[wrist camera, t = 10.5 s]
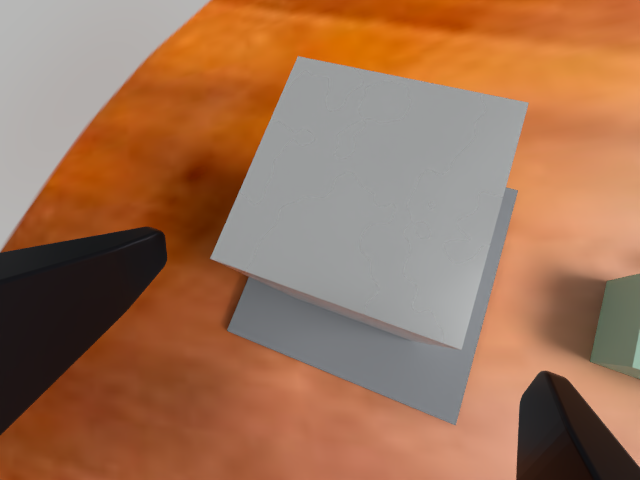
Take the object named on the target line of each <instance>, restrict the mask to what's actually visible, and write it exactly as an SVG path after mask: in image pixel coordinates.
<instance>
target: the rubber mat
mask: <svg viewBox="0 0 640 480" xmlns="http://www.w3.org/2000/svg"><path fill="white" fill-rule="evenodd" d="M517 192H518V190H514V189H510V188H505V192H504V196H503V199H502V203H501V207H500V210H499V214H498V218H497V221H496V225H495V229H494V232H493V236H492V240H491V243H490V247H489V251H488V254H487V258H486V262H485V266H484V269H483V273H482V277H481V280H480V284H479V288H478V291H477V295H476V299H475V302H474V306H473V310H472V313H471V317H470V321H469V325H468V328H467V332H466V336H465V339H464V343H463V347H462V350H459V349H453V348H447V347H442V346H436V345H430V344H424V343H419V342H413V341H410V340H408V339H405V338H402V337H399V336H397V335H394V334H391V333H389V332H386V331H383V330H380V329H378V328H375V327H372V326H370V325H367V324H364V323H361V322H359V321H356V320H353V319H351V318H348V317H345V316H342V315H340V314H337V313H334V312H332V311H329V310H326V309H324V308H321V307H318V306H315V305H313V304H310V303H307V302H305V301H302V300H299V299H296V298H294V297H292V296H289V295H287V294H285V293H283V292H281V291H279V290H277V289H274V288H272V287H270V286H268V285H266V284H264V283H261V282H259V281H257V280H255V279H253V278H251V277H249V278H248V281H247V283H246V285H245V288H244V290H243V293H242V295H241V298H240V300H239V302H238V305H237V307H236V310H235V312H234V315H233V317H232V320H231V322H230V324H229V327H228V329H227V331H229V332H231V333H234V334H236V335H238V336H241V337H243V338H246V339H248V340H250V341H253V342H255V343H258V344H260V345H263V346H265V347H267V348H270V349H272V350H275V351H277V352H280V353H282V354H284V355H287V356H289V357H292V358H294V359H296V360H299V361H301V362H304V363H306V364H309V365H311V366H313V367H316V368H318V369H321V370H323V371H325V372H328V373H330V374H333V375H335V376H338V377H340V378H342V379H345V380H347V381H350V382H352V383H354V384H357V385H359V386H362V387H364V388H367V389H369V390H371V391H374V392H376V393H379V394H381V395H384V396H386V397H388V398H391V399H393V400H396V401H398V402H400V403H403V404H405V405H408V406H410V407H413V408H415V409H417V410H420V411H422V412H425V413H427V414H429V415H432V416H434V417H437V418H439V419H442V420H444V421H446V422H449V423H451V424H454V425H456V422H457V418H458V414H459V411H460V407H461V403H462V399H463V396H464V392H465V388H466V384H467V381H468V377H469V373H470V369H471V365H472V362H473V358H474V354H475V350H476V347H477V343H478V339H479V335H480V332H481V328H482V324H483V320H484V317H485V313H486V309H487V305H488V301H489V298H490V294H491V290H492V286H493V283H494V279H495V275H496V271H497V268H498V264H499V260H500V256H501V252H502V249H503V245H504V241H505V237H506V234H507V230H508V226H509V222H510V219H511V215H512V211H513V207H514V204H515V200H516V196H517Z"/></svg>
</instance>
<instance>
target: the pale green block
mask: <svg viewBox="0 0 640 480" xmlns="http://www.w3.org/2000/svg"><path fill="white" fill-rule="evenodd" d="M590 362H592V363H595V364H598V365H601V366H603V367H606V368H609V369H612V370H615V371H618V372H620V373H623V374H626V375H629V376H632V377H635V378H637V379H640V274H636V275H632V276H627V277H623V278H618V279H614V280H609V281H607V283H606V288H605V293H604V297H603V302H602V307H601V311H600V316H599V321H598V326H597V330H596V335H595V340H594V344H593V349H592V354H591V359H590Z"/></svg>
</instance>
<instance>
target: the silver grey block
mask: <svg viewBox="0 0 640 480" xmlns="http://www.w3.org/2000/svg"><path fill="white" fill-rule="evenodd" d="M527 107H528V103H527V102H522V101H517V100H512V99H507V98H502V97H497V96H492V95H487V94H482V93H478V92H473V91H468V90H463V89H458V88H453V87H448V86H443V85H438V84H433V83H428V82H423V81H418V80H413V79H408V78H403V77H398V76H393V75H388V74H383V73H378V72H373V71H368V70H363V69H358V68H353V67H348V66H343V65H338V64H333V63H328V62H324V61H319V60H314V59H309V58H304V57H299V56H298V58H297V60H296V62H295V65H294V67H293V69H292V71H291V74H290V76H289V78H288V81H287V83H286V85H285V88H284V90H283V92H282V94H281V97H280V99H279V101H278V104H277V106H276V108H275V111H274V113H273V115H272V117H271V120H270V122H269V124H268V127H267V129H266V131H265V134H264V136H263V138H262V140H261V143H260V145H259V147H258V150H257V152H256V154H255V156H254V159H253V161H252V163H251V166H250V168H249V170H248V173H247V175H246V177H245V179H244V182H243V184H242V186H241V189H240V191H239V193H238V196H237V198H236V200H235V202H234V205H233V207H232V209H231V212H230V214H229V216H228V219H227V221H226V223H225V225H224V228H223V230H222V232H221V235H220V237H219V239H218V242H217V244H216V246H215V248H214V251H213V253H212V255H211V258H210V259H212V260H214V261H216V262H218V263H221V264H223V265H225V266H227V267H229V268H231V269H233V270H236V271H238V272H240V273H242V274H244V275H246V276H249V277H251V278H253V279H255V280H257V281H259V282H261V283H264V284H266V285H268V286H270V287H272V288H274V289H277V290H279V291H281V292H283V293H285V294H287V295H289V296H292V297H294V298H296V299H299V300H302V301H305V302H307V303H310V304H313V305H315V306H318V307H321V308H324V309H326V310H329V311H332V312H334V313H337V314H340V315H342V316H345V317H348V318H351V319H353V320H356V321H359V322H361V323H364V324H367V325H370V326H372V327H375V328H378V329H380V330H383V331H386V332H389V333H391V334H394V335H397V336H399V337H402V338H405V339H408V340H410V341H413V342H419V343H424V344H430V345H436V346H442V347H447V348H453V349H459V350H462V347H463V343H464V339H465V336H466V332H467V328H468V325H469V321H470V317H471V313H472V310H473V306H474V302H475V299H476V295H477V291H478V288H479V284H480V280H481V277H482V273H483V269H484V266H485V262H486V258H487V254H488V251H489V247H490V243H491V240H492V236H493V232H494V229H495V225H496V221H497V218H498V214H499V210H500V207H501V203H502V199H503V196H504V192H505V188H506V184H507V181H508V177H509V173H510V170H511V166H512V162H513V159H514V155H515V151H516V148H517V144H518V140H519V137H520V133H521V129H522V125H523V122H524V118H525V114H526V111H527Z"/></svg>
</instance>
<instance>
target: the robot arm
mask: <svg viewBox="0 0 640 480" xmlns="http://www.w3.org/2000/svg"><path fill="white" fill-rule="evenodd" d="M166 261H167V251H166V241H165V235H164V233H163V232H162V231H160V230H157V229H154V228H152V227H142V228H136V229H131V230H125V231H119V232H114V233H108V234H103V235H97V236H92V237H86V238H80V239H75V240H69V241H64V242H58V243H53V244H47V245H41V246H36V247H30V248H25V249H19V250H14V251H8V252H2V253H0V435H1V434H2V433H3V432H4V431H5V430H6V429H7V428H8V427H9V426H10V425H11V424H12V423H13V422H14V421H15V420H16V419H17V418H18V417H20V416H21V415H22V414H23V413H24V412H25V411H26V410H27V409H28V408H29V407H30V406H31V405H32V404H33V403H34V402H35V401H36V400H37V399H38V398H39V397H40V396H41V395H42V394H43V393H44V392H45V391H46V390H47V389H48V388H49V387H50V386H51V385H52V384H53V383H54V382H55V381H56V380H57V379H58V378H59V377H60V376H61V375H62V374H63V373H64V372H65V371H66V370H67V369H68V368H69V367H70V366H71V365H72V364H73V363H74V362H75V361H77V360H78V359H79V358H80V357H81V356H82V355H83V354H84V353H85V352H86V351H87V350H88V349H89V348H90V347H91V346H92V345H93V344H94V343H95V342H96V341H97V340H98V339H99V338H100V337H101V336H102V335H103V334H104V333H105V332H106V331H107V330H108V329H109V328H110V327H111V326H112V325H113V324H114V323H115V322H116V321H117V320H118V319H119V318H120V317H121V316H122V315H123V314H124V313H125V312H126V311H127V310H128V309H129V308H130V307H131V305H132V304H133V303H134V302H135V301H136V300H137V298H138V297H139V296H140V295H141V294H142V292H143V291H144V290H145V289H146V288H147V286H148V285H149V284H150V283H151V282H152V280H153V279H154V278H155V277H156V276H157V274H158V273H159V272H160V271H161V270H162V269H163V267H164V266H165V264H166ZM516 480H640V467H639V466H638V465H637V464H636V462H635V461H634V460H633V459H632V457H631V456H630V455H629V454H628V453H627V451H626V450H625V449H624V448H623V446H622V445H621V444H620V443H619V442H618V440H617V439H616V438H615V437H614V435H613V434H612V433H611V432H610V430H609V429H608V428H607V427H606V426H605V424H604V423H603V422H602V421H601V419H600V418H599V417H598V416H597V415H596V413H595V412H594V411H593V410H592V408H591V407H590V406H589V405H588V404H587V402H586V401H585V400H584V399H583V397H582V396H581V395H580V394H579V393H578V391H577V390H576V389H575V388H574V386H573V385H572V384H571V383H570V382H569V381H568V380H567V379H566V378H564V377H562V376H560V375H557V374H554V373H551V372H549V371H541V372H540V373H539V374H538V375H537V376H536V377H535V379H534V380H533V381H532V383H531V384H530V386H529V387H528V388H527V390H526V391H525V392H524V394H523V395H522V398H521V401H520V408H519V429H518V450H517V475H516Z"/></svg>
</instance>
